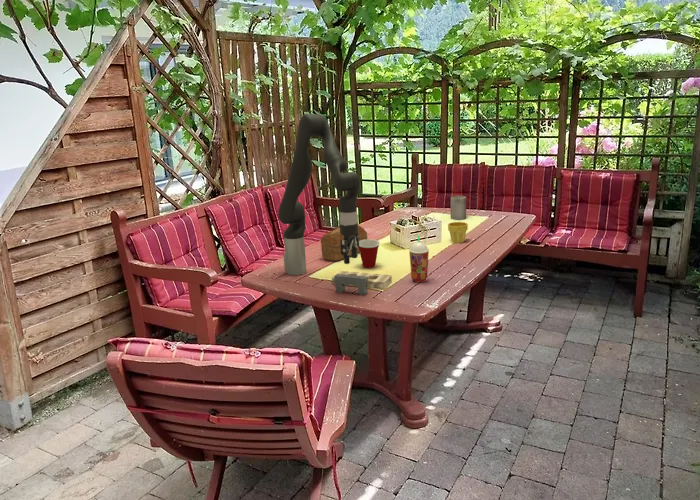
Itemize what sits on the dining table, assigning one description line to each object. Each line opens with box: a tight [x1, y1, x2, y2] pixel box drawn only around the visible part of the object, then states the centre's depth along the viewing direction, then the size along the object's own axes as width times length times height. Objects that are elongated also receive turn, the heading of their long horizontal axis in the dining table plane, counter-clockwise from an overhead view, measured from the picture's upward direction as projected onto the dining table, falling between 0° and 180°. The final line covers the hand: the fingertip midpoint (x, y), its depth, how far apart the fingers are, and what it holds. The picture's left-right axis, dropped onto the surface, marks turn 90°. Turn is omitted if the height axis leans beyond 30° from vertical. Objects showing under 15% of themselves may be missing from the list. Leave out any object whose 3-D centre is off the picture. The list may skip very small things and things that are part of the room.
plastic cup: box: [358, 238, 381, 269], centre depth 268 cm, size 11×11×12 cm
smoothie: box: [409, 235, 430, 283], centre depth 245 cm, size 8×8×20 cm
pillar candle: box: [450, 195, 467, 221], centre depth 357 cm, size 10×10×15 cm
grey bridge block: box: [333, 273, 368, 296], centre depth 236 cm, size 14×3×7 cm, turn 68°
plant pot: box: [447, 221, 469, 244], centre depth 305 cm, size 10×10×10 cm
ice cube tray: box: [331, 270, 393, 290], centre depth 247 cm, size 24×10×3 cm, turn 68°
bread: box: [320, 225, 368, 262], centre depth 289 cm, size 12×28×14 cm, turn 140°
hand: (350, 260), depth 233 cm, fingers open, 8 cm apart
